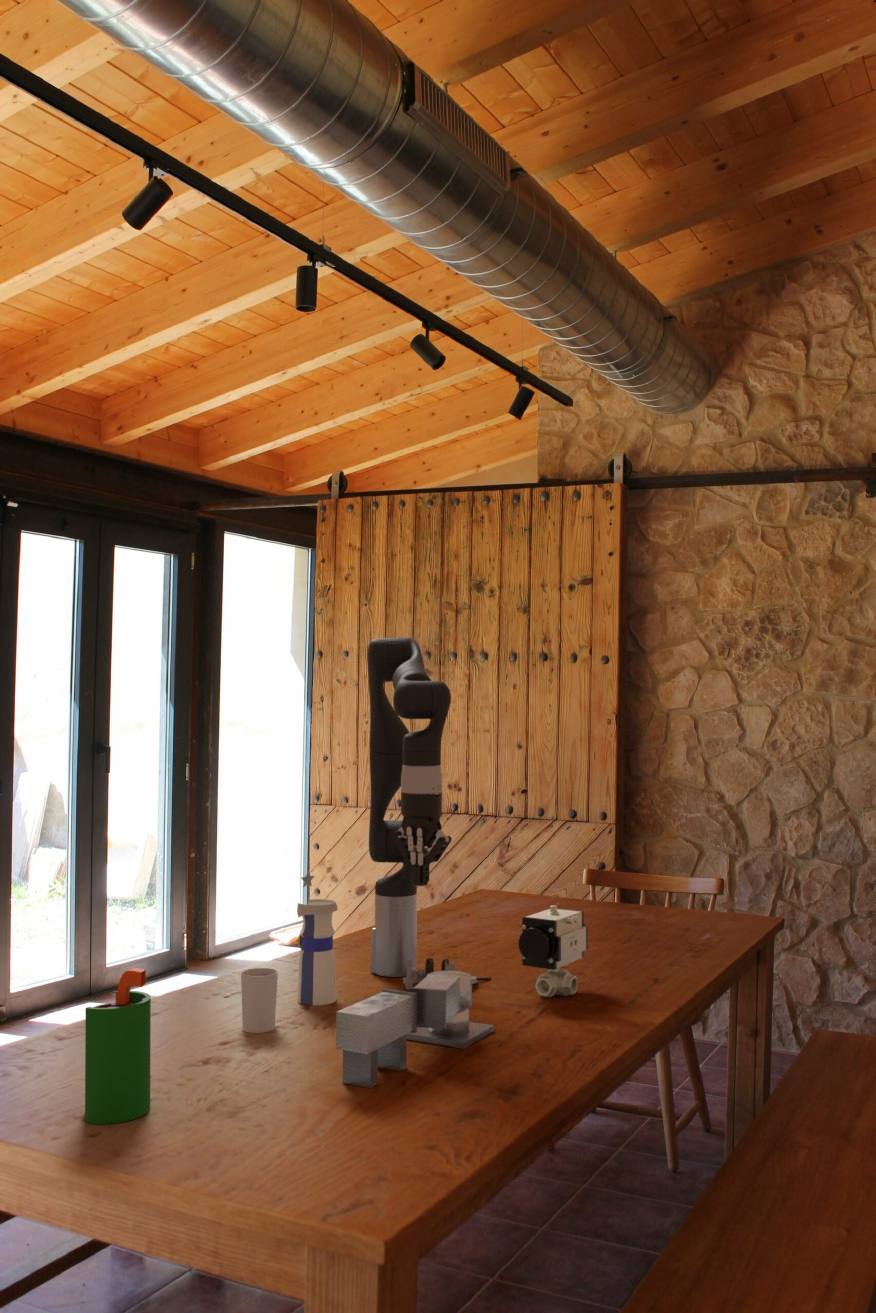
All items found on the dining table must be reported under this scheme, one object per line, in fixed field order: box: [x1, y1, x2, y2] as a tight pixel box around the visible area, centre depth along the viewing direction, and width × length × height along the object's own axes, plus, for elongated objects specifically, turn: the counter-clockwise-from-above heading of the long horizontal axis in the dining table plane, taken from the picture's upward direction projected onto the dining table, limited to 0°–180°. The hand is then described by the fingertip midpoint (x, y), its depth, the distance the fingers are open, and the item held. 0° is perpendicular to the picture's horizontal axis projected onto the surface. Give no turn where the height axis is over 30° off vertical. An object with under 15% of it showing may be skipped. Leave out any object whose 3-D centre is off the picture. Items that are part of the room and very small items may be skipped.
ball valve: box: [518, 904, 589, 998], centre depth 223 cm, size 18×8×18 cm, turn 148°
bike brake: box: [402, 957, 492, 991], centre depth 229 cm, size 14×7×20 cm
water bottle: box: [296, 870, 338, 1006], centre depth 217 cm, size 8×9×25 cm
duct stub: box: [407, 1007, 495, 1049], centre depth 194 cm, size 12×12×5 cm
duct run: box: [335, 988, 417, 1089], centre depth 172 cm, size 15×6×11 cm, turn 152°
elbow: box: [408, 970, 472, 1029], centre depth 189 cm, size 19×8×6 cm, turn 165°
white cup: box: [240, 967, 279, 1034], centre depth 198 cm, size 7×7×10 cm
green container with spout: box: [84, 967, 152, 1125], centre depth 156 cm, size 10×9×20 cm
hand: (420, 884), depth 199 cm, fingers closed
